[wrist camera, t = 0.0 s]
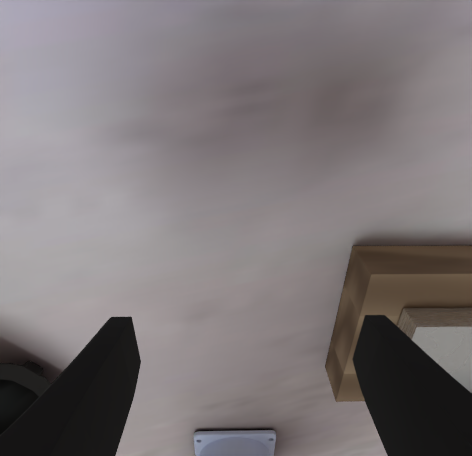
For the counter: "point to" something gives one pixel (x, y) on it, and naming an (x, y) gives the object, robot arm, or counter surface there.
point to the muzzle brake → (19, 390)
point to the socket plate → (392, 297)
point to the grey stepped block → (443, 338)
